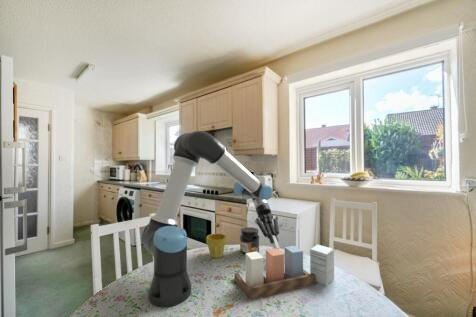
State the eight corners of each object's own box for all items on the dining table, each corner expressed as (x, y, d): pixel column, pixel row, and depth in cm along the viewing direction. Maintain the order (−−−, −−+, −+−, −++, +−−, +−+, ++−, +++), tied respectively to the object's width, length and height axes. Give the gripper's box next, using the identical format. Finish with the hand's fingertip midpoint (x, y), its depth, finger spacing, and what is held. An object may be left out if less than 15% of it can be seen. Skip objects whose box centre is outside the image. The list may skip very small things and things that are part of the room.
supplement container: (242, 257, 111) (242, 233, 111) (237, 249, 121) (237, 227, 121) (262, 255, 113) (262, 232, 114) (255, 247, 124) (255, 226, 124)
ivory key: (251, 291, 81) (251, 259, 81) (245, 283, 87) (245, 253, 87) (263, 289, 83) (263, 257, 83) (256, 281, 88) (256, 251, 88)
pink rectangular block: (272, 287, 84) (272, 256, 84) (265, 279, 90) (265, 250, 90) (284, 284, 86) (284, 254, 86) (276, 277, 91) (276, 248, 92)
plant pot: (202, 256, 112) (202, 237, 112) (215, 249, 120) (215, 232, 120) (217, 261, 106) (217, 241, 106) (230, 254, 114) (230, 235, 114)
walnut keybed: (248, 300, 76) (248, 289, 76) (234, 279, 90) (234, 269, 90) (315, 284, 86) (315, 274, 86) (294, 267, 100) (294, 259, 100)
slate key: (292, 282, 87) (292, 252, 87) (284, 275, 93) (284, 247, 93) (303, 280, 89) (303, 251, 89) (294, 273, 95) (294, 245, 95)
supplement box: (317, 272, 96) (317, 243, 96) (334, 279, 90) (334, 248, 91) (309, 279, 91) (309, 248, 91) (327, 286, 85) (327, 254, 85)
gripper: (270, 210, 124) (286, 251, 108) (249, 211, 119) (262, 254, 103) (275, 202, 119) (292, 244, 103) (253, 203, 114) (267, 247, 98)
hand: (277, 249), depth 103 cm, fingers closed
